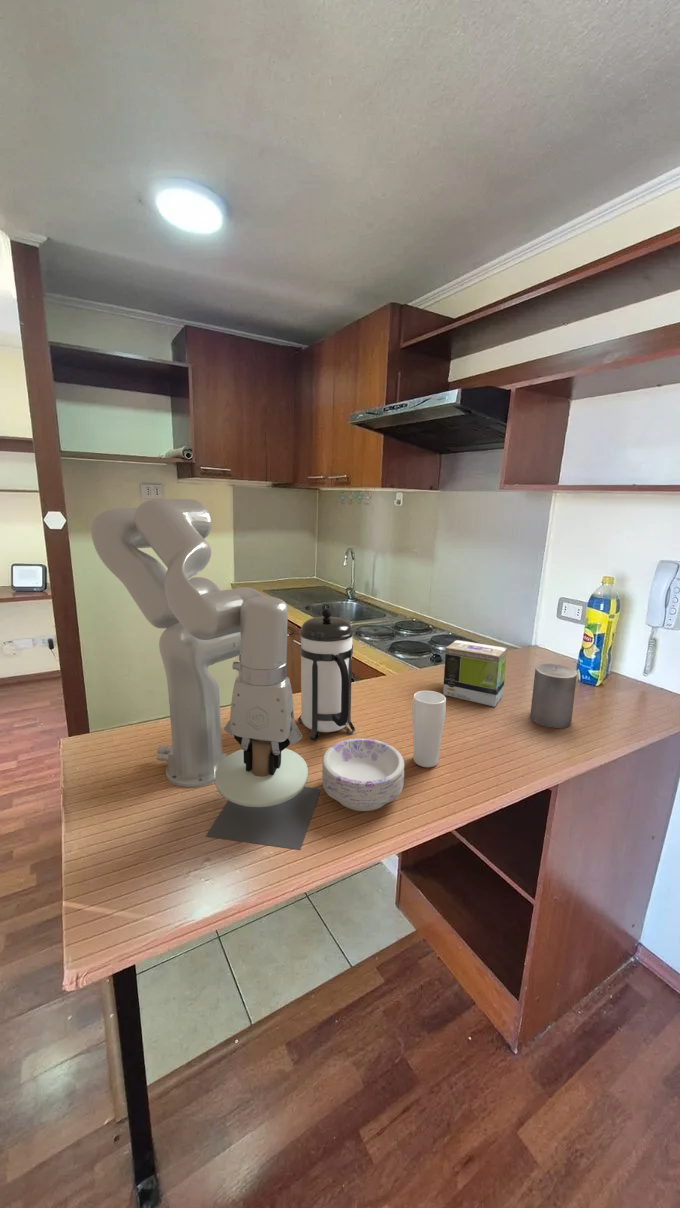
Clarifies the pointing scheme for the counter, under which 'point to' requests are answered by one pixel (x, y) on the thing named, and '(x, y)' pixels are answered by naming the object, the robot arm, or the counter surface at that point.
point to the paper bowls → (363, 773)
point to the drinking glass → (427, 727)
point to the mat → (268, 821)
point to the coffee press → (326, 674)
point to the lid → (261, 777)
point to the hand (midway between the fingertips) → (262, 767)
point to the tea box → (474, 672)
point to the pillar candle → (553, 695)
